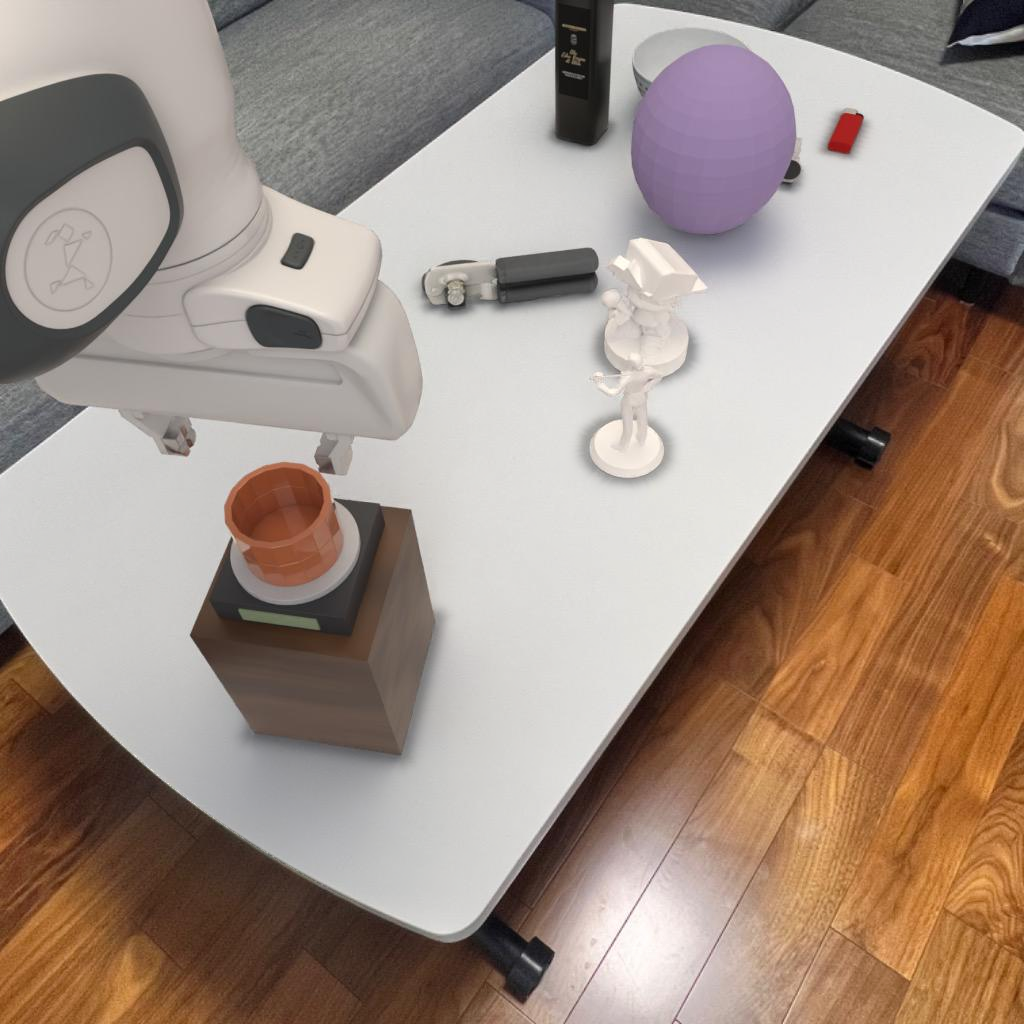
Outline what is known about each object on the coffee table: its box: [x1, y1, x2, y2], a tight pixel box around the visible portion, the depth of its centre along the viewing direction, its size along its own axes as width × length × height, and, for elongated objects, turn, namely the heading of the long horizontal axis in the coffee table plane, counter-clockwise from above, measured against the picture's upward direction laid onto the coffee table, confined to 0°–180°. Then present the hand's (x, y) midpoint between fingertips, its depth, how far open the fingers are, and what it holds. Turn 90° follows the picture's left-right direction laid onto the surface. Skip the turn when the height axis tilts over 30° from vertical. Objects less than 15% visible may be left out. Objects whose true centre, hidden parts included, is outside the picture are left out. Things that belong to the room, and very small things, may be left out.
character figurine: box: [600, 237, 708, 380], centre depth 92 cm, size 9×10×12 cm
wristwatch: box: [782, 137, 804, 184], centre depth 111 cm, size 3×5×5 cm, turn 164°
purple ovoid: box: [630, 44, 798, 235], centre depth 100 cm, size 17×17×20 cm
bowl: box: [223, 461, 344, 587], centre depth 59 cm, size 6×6×4 cm
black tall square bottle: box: [554, 0, 615, 146], centre depth 108 cm, size 6×6×30 cm
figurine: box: [588, 352, 665, 479], centre depth 84 cm, size 7×7×12 cm
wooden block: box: [189, 505, 436, 756], centre depth 70 cm, size 12×12×16 cm
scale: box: [209, 497, 385, 636], centre depth 62 cm, size 9×9×3 cm
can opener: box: [421, 247, 600, 311], centre depth 101 cm, size 19×6×5 cm, turn 95°
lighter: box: [827, 107, 865, 154], centre depth 117 cm, size 3×1×8 cm
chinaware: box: [631, 26, 753, 98], centre depth 118 cm, size 15×15×8 cm
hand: (257, 456), depth 53 cm, fingers open, 8 cm apart
